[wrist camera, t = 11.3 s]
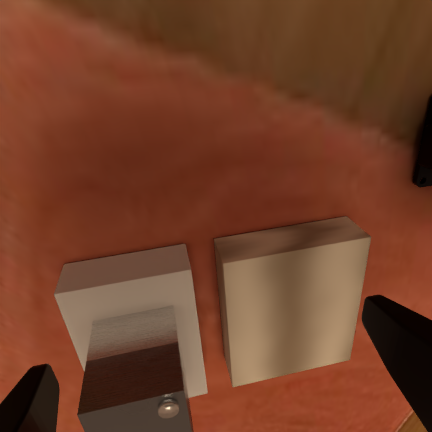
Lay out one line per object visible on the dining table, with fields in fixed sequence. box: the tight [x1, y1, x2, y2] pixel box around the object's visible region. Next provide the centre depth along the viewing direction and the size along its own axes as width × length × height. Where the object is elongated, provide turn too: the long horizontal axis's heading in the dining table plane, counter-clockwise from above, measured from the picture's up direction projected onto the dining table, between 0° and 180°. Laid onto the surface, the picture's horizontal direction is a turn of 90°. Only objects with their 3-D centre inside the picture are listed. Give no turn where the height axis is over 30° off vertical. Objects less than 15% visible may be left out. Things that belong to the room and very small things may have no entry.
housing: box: [77, 306, 194, 432], centre depth 20 cm, size 5×7×6 cm
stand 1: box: [54, 244, 208, 397], centre depth 24 cm, size 8×12×3 cm, turn 5°
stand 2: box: [214, 216, 371, 387], centre depth 26 cm, size 10×12×3 cm
